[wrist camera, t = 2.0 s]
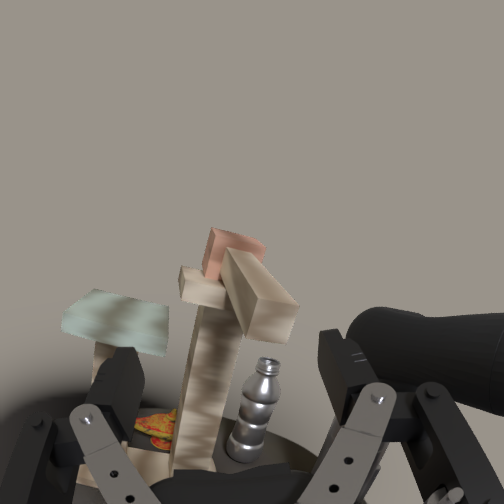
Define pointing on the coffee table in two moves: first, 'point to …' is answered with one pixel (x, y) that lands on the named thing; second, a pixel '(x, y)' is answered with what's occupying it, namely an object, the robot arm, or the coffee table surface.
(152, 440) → the magic lamp
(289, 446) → the coffee table surface
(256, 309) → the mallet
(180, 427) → the stepped stand
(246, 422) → the plastic bottle
